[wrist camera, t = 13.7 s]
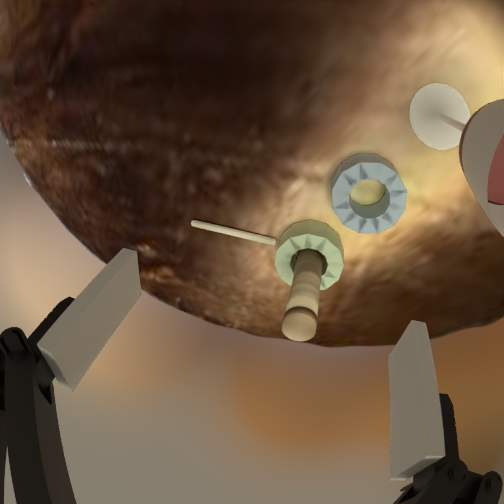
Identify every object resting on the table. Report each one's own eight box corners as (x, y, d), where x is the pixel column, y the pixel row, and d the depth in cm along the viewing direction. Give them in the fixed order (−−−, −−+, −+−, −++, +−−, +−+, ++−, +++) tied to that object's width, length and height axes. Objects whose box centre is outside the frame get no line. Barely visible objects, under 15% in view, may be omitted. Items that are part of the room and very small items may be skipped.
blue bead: (330, 153, 37) (330, 162, 34) (401, 154, 35) (408, 163, 32) (333, 218, 42) (332, 232, 39) (397, 219, 39) (403, 234, 36)
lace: (192, 218, 47) (190, 221, 46) (277, 237, 45) (276, 241, 45) (192, 223, 48) (189, 226, 47) (276, 243, 46) (275, 247, 45)
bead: (286, 213, 43) (281, 227, 40) (350, 229, 42) (351, 244, 39) (275, 266, 48) (270, 282, 45) (332, 280, 47) (331, 297, 44)
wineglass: (484, 134, 30) (596, 212, 11) (423, 164, 35) (501, 269, 16) (455, 69, 27) (576, 86, 8) (391, 99, 32) (466, 139, 13)
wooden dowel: (301, 235, 44) (285, 313, 31) (326, 241, 44) (320, 322, 31) (296, 256, 46) (278, 336, 33) (320, 262, 46) (311, 344, 33)
